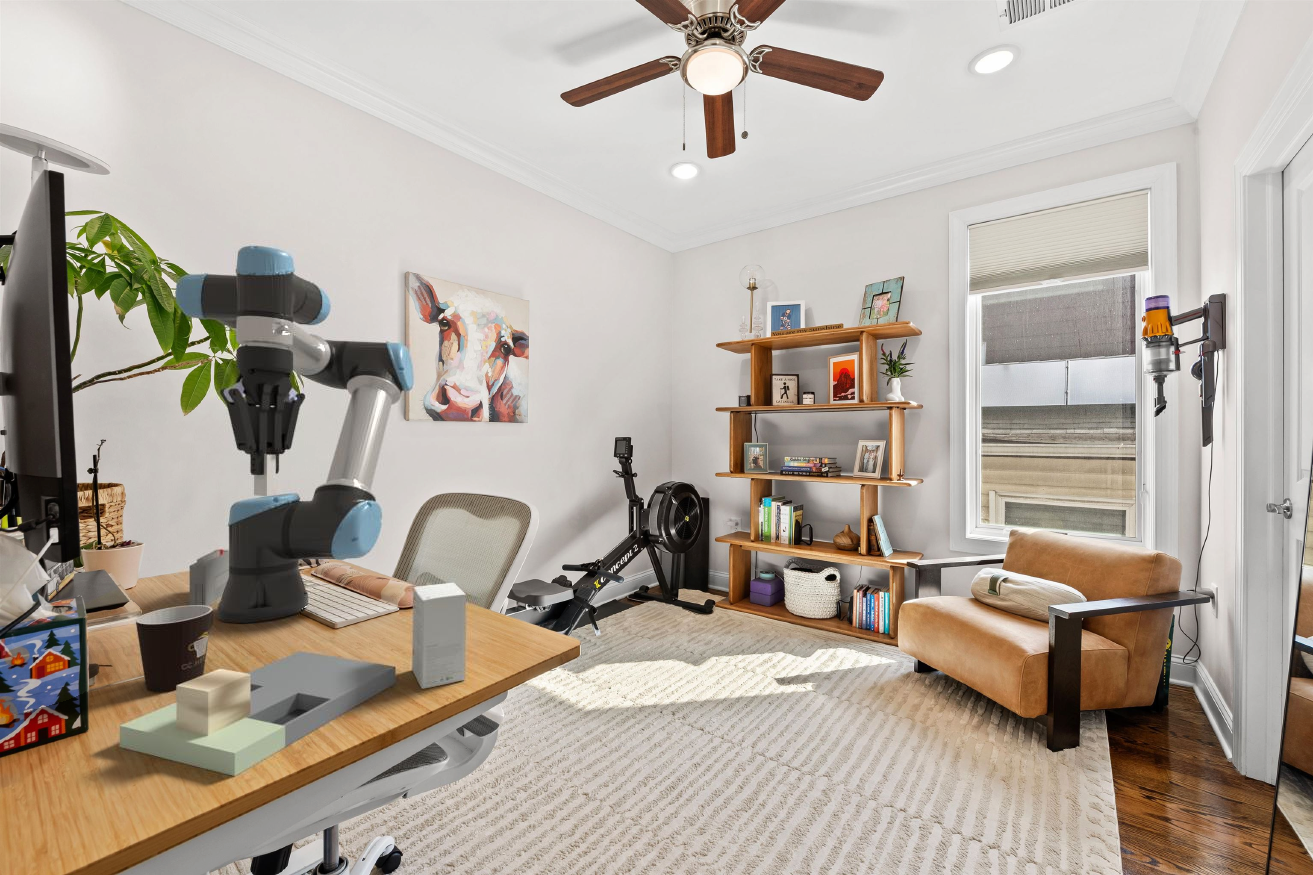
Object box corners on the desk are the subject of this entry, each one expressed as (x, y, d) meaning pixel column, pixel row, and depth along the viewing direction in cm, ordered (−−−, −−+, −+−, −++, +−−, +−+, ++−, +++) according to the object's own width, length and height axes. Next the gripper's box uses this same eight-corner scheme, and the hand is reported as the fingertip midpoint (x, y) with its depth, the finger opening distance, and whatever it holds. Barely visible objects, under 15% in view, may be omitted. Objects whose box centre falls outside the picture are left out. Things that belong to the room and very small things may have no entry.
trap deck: (300, 666, 91) (300, 651, 91) (395, 683, 86) (395, 666, 86) (119, 746, 68) (119, 725, 68) (234, 776, 63) (234, 753, 63)
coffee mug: (160, 700, 79) (160, 627, 79) (121, 689, 82) (121, 619, 82) (246, 668, 90) (246, 603, 90) (208, 659, 93) (209, 597, 93)
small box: (466, 680, 87) (467, 593, 87) (421, 690, 84) (421, 600, 84) (453, 661, 94) (454, 581, 94) (411, 669, 91) (412, 586, 90)
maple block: (219, 708, 72) (219, 668, 72) (250, 714, 71) (250, 674, 71) (176, 728, 68) (176, 685, 67) (208, 735, 66) (208, 691, 66)
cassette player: (221, 589, 133) (221, 545, 132) (235, 588, 133) (235, 544, 133) (189, 610, 118) (189, 560, 117) (205, 609, 118) (205, 560, 118)
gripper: (243, 340, 86) (242, 501, 86) (318, 352, 98) (317, 492, 98) (206, 342, 88) (205, 498, 88) (284, 353, 100) (283, 490, 101)
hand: (264, 495), depth 93 cm, fingers closed
